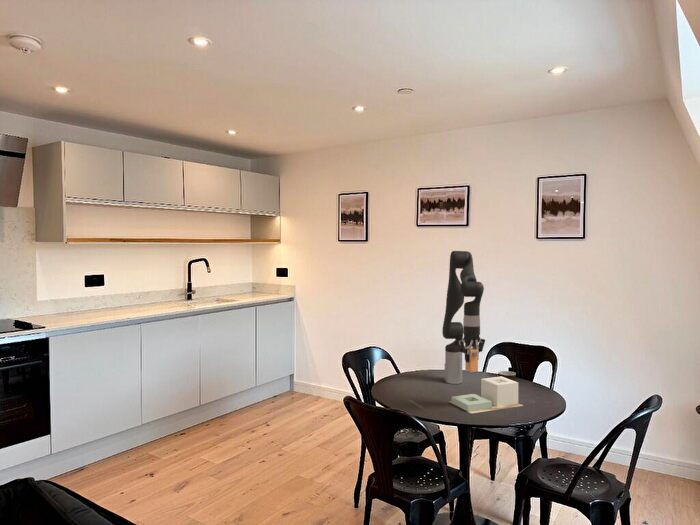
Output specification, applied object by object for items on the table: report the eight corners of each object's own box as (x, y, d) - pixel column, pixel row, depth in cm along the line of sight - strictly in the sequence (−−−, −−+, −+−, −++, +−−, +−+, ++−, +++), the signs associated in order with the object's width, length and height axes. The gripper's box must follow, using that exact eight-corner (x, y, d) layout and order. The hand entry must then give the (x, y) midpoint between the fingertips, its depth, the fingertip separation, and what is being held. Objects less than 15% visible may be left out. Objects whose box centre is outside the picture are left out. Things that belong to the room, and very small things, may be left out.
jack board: (448, 403, 229) (448, 401, 229) (498, 396, 240) (498, 394, 239) (471, 415, 212) (471, 413, 212) (523, 407, 223) (523, 405, 223)
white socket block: (481, 399, 232) (481, 378, 232) (501, 396, 237) (501, 376, 236) (497, 406, 221) (497, 385, 221) (518, 403, 225) (518, 382, 225)
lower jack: (451, 403, 227) (451, 396, 226) (474, 399, 231) (474, 393, 231) (467, 411, 214) (467, 405, 214) (491, 408, 219) (491, 401, 219)
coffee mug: (515, 390, 249) (515, 371, 249) (516, 395, 241) (516, 375, 241) (491, 389, 253) (492, 370, 252) (492, 393, 244) (492, 374, 244)
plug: (465, 369, 224) (465, 348, 223) (472, 369, 225) (472, 347, 225) (471, 372, 219) (471, 350, 219) (478, 371, 221) (479, 349, 220)
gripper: (479, 322, 228) (479, 358, 228) (454, 324, 223) (453, 361, 223) (489, 325, 221) (489, 362, 221) (463, 326, 216) (463, 364, 216)
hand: (471, 361), depth 222 cm, fingers closed on plug, 4 cm apart
